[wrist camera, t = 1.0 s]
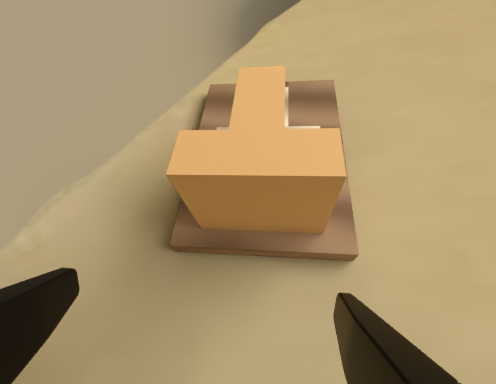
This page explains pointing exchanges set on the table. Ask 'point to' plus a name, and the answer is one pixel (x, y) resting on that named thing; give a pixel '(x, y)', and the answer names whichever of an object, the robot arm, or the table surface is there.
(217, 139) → the t block
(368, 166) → the table surface
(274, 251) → the board
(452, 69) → the table surface
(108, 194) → the table surface
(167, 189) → the table surface
